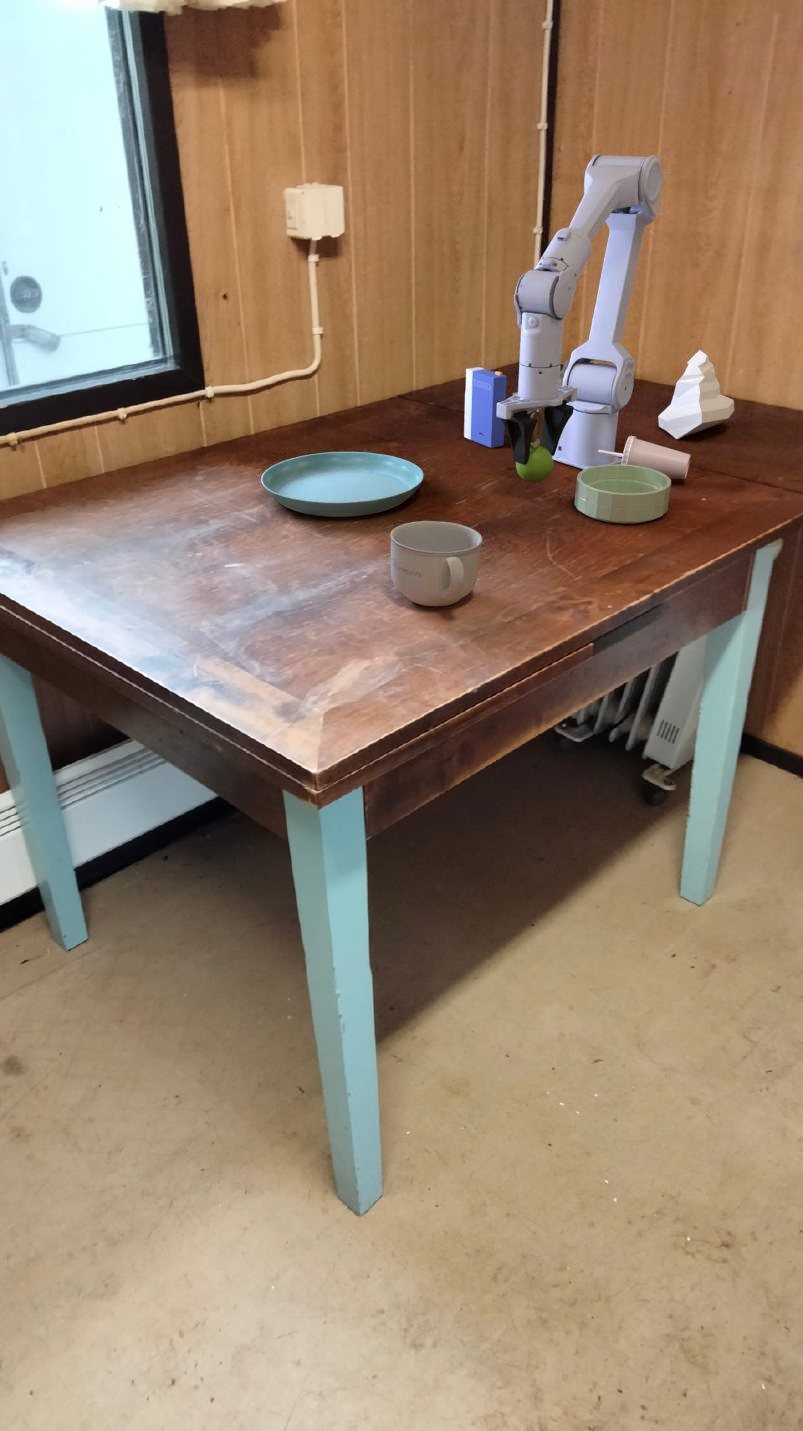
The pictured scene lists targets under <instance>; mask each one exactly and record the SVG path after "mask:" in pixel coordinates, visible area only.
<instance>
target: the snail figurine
mask: <svg viewBox="0 0 803 1431" xmlns="http://www.w3.org/2000/svg"><path fill="white" fill-rule="evenodd" d="M544 411H545V407H544V408H541V409H537V412H534V413H533V414H532V415H530V416H529V417H530V418H533V419H537V420H538V422H537V424H536V426H535V429H534V432H533V435H532V439H531V445H530V455H529V460H528V462H527V464H525V465H523V464H520V463H517V462H515V468H516V472H517V475H518V476H519V477H520V479H522V480H523V481H525V482H528V483H531V484H537V483H541V482H543V481H545V480H546V479H547V478H548V477H549V476H550V474H551V473H552V471H553V469H554V460H553V458H552V456H551V454H550V452H549V451H548V450H547V449H546V448H544V447H542V446H541V440H542V436H543V427H544Z"/></svg>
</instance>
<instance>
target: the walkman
mask: <svg viewBox="0 0 803 1431" xmlns="http://www.w3.org/2000/svg"><path fill="white" fill-rule="evenodd" d="M507 378H508V376H507V375H505V374H503V372H502V371H499V370H497V371H493V370H489V369H487V368H484V367H480V366H476V367H468V368H465V391H464V420H463V421H464V423H463V438H466V439H468V440H470V441H473V442H475V443H478V444H480V445H483V446H485V447H488V448H490V449H492V448H497V447H501V446H504V445H505V426H504V424H503V422H502V421H501V419H500V417H497V416H496V415H497V403H499V402H502V401H504V400H506V399H507V381H508V380H507Z"/></svg>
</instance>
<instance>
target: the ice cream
mask: <svg viewBox="0 0 803 1431" xmlns="http://www.w3.org/2000/svg"><path fill="white" fill-rule="evenodd" d="M709 359H710V358H709V355H708V354H707V353H705V352H704V351H702V350H701V349H699V350H698V351H697V352H696V353H695V354H693V356H692V357H691V358H690V359H689V360H688V361H687V362H686V363H687V366H686V368H685V371H684V372H683V374H682V375H681V377H680V378H679V379H678V380H677V381H676V383H675V387H674V391H673V396H672V398H671V402H670V404H669V405H668V406H667V407H666V408H665V409H664V410H663V411H662V412H661V413H660V414H659V415H658V417H657V418H658V427H659V428H661V429H662V430H664V431H666V432H667V433H668V434H669V435H670V436H672V437H673V438H674V439H676V440H679V439H681V438H685V437H687V436H690V435H693V434H696V433H699V432H701V431H704V430H706V429H709V428H712V427H715V426H717V425H720V424H722V423H723V422H725V421H726V420H728V419H729V418H731V416H732V414H733V413H734V412H735V400H734V399H732V398H731V397H728V396H726V395H723V394H721V385H720V383H719V381H718V379H717V377H716V372H715V371H716V370H715V367H714V366H715V365H714V364H713V363H712V362H711V361H710V360H709Z"/></svg>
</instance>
